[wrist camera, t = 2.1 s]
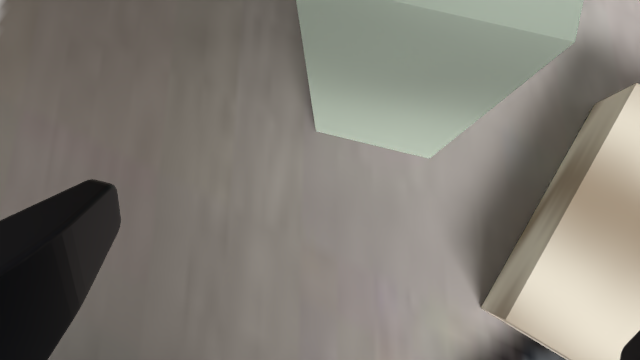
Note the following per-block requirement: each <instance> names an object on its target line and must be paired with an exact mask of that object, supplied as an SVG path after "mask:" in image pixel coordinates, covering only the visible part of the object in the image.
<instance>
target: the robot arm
mask: <svg viewBox="0 0 640 360" xmlns="http://www.w3.org/2000/svg"><path fill="white" fill-rule="evenodd" d="M120 223H121V216H120V209H119V201H118V194H117V189H116V187H115V186H114V185H112V184H110V183H106V182H102V181H98V180H93V179H91V180H87V181H84V182H82V183H80V184H78V185H76V186H74V187H72V188H69V189H67V190H65V191H63V192H61V193H59V194H57V195H54V196H52V197H50V198H48V199H46V200H44V201H41V202H39V203H37V204H35V205H33V206H31V207H29V208H26V209H24V210H22V211H20V212H18V213H16V214H13V215H11V216H9V217H7V218H5V219H3V220H1V221H0V360H48V358H49V356H50V355H51V353H52V352H53V350H54V349H55V347H56V346H57V344H58V342H59V341H60V339H61V338H62V336H63V335H64V333H65V332H66V330H67V328H68V327H69V325H70V324H71V322H72V321H73V319H74V317H75V316H76V314H77V312H78V311H79V309H80V307H81V305H82V304H83V302H84V300H85V298H86V296H87V294H88V292H89V290H90V288H91V286H92V284H93V282H94V280H95V278H96V276H97V274H98V272H99V270H100V268H101V266H102V264H103V262H104V259H105V257H106V255H107V253H108V251H109V249H110V247H111V245H112V243H113V241H114V239H115V237H116V235H117V233H118V231H119V228H120ZM620 360H640V330H639V331H638V332H637V333H636V334H635V336H634V337H633V338H632V339H631V340H630V341H629V342H628V343H627V344H626V345H625V346H624V348H623V349H622V352H621V356H620Z"/></svg>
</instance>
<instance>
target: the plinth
mask: <svg viewBox="0 0 640 360" xmlns="http://www.w3.org/2000/svg"><path fill="white" fill-rule="evenodd" d="M481 309H483V310H485V311H486V312H488V313H490V314H491V315H493V316H495V317H496V318H498V319H500V320H501V321H503V322H505V323H506V324H508V325H510V326H511V327H513V328H515V329H516V330H518V331H520V332H521V333H523V334H525V335H526V336H528V337H530V338H531V339H533V340H535V341H536V342H538V343H540V344H541V345H543V346H545V347H546V348H548V349H550V350H551V351H553V352H555V353H556V354H558V355H560V356H561V357H563V358H565V359H566V360H620V356H621V352H622V349H623V348H624V346H625V345H626V344H627V343H628V342H629V341H630V340H631V339H632V338H633V337H634V336H635V334H636V333H637V332H638V331H639V330H640V84H638V83H635V84H634V85H632V86H630V87H628V88H626V89H624V90H622V91H620V92H618V93H616V94H614V95H612V96H610V97H608V98H606V99H604V100H602V101H600V102H598V103H596V104H595V105H594V106H593V108H592V110H591V112H590V114H589V115H588V117H587V119H586V121H585V123H584V124H583V126H582V128H581V130H580V131H579V133H578V135H577V137H576V139H575V140H574V142H573V144H572V146H571V148H570V149H569V151H568V153H567V155H566V156H565V158H564V160H563V162H562V164H561V165H560V167H559V169H558V171H557V173H556V174H555V176H554V178H553V180H552V181H551V183H550V185H549V187H548V189H547V190H546V192H545V194H544V196H543V198H542V199H541V201H540V203H539V205H538V206H537V208H536V210H535V212H534V214H533V215H532V217H531V219H530V221H529V223H528V224H527V226H526V228H525V230H524V231H523V233H522V235H521V237H520V239H519V240H518V242H517V244H516V246H515V248H514V249H513V251H512V253H511V255H510V256H509V258H508V260H507V262H506V264H505V265H504V267H503V269H502V271H501V273H500V274H499V276H498V278H497V280H496V281H495V283H494V285H493V287H492V289H491V290H490V292H489V294H488V296H487V298H486V299H485V301H484V303H483V305H482V306H481Z"/></svg>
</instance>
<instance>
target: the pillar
mask: <svg viewBox="0 0 640 360" xmlns="http://www.w3.org/2000/svg"><path fill="white" fill-rule="evenodd" d="M583 1H584V0H296V3H297V9H298V16H299V23H300V29H301V36H302V42H303V49H304V56H305V62H306V69H307V75H308V82H309V89H310V95H311V102H312V108H313V115H314V122H315V128H316V131H317V132H321V133H325V134H330V135H334V136H338V137H342V138H346V139H350V140H354V141H359V142H363V143H367V144H371V145H375V146H379V147H383V148H388V149H392V150H396V151H400V152H404V153H408V154H413V155H417V156H421V157H425V158H429V159H430V158H431V157H432V156H433V155H435V154H436V153H437V152H438V151H440V150H441V149H442V148H443V147H445V146H446V145H447V144H448V143H450V142H451V141H452V140H453V139H455V138H456V137H457V136H458V135H460V134H461V133H462V132H463V131H465V130H466V129H467V128H468V127H470V126H471V125H472V124H473V123H475V122H476V121H477V120H478V119H480V118H481V117H482V116H483V115H485V114H486V113H487V112H488V111H490V110H491V109H492V108H493V107H495V106H496V105H497V104H498V103H500V102H501V101H502V100H503V99H505V98H506V97H507V96H508V95H509V94H511V93H512V92H513V91H514V90H516V89H517V88H518V87H519V86H521V85H522V84H523V83H524V82H526V81H527V80H528V79H529V78H531V77H532V76H533V75H534V74H536V73H537V72H538V71H539V70H541V69H542V68H543V67H544V66H546V65H547V64H548V63H549V62H551V61H552V60H553V59H554V58H556V57H557V56H558V55H559V54H561V53H562V52H563V51H564V50H566V49H567V48H568V47H569V46H571V45H572V44H573V43H574V42H575V40H576V35H577V30H578V25H579V20H580V15H581V10H582V6H583Z"/></svg>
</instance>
